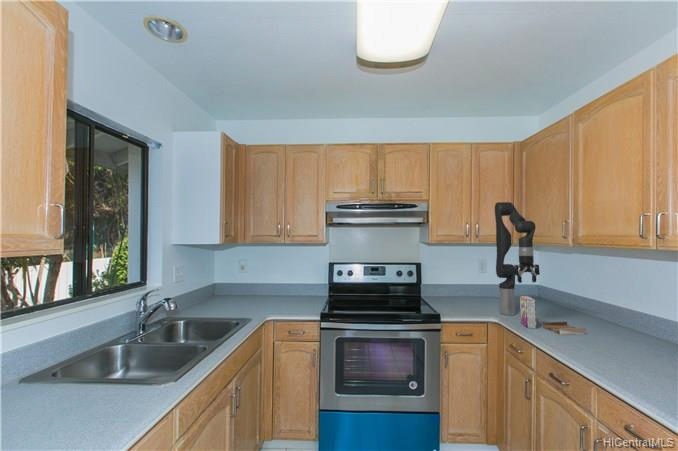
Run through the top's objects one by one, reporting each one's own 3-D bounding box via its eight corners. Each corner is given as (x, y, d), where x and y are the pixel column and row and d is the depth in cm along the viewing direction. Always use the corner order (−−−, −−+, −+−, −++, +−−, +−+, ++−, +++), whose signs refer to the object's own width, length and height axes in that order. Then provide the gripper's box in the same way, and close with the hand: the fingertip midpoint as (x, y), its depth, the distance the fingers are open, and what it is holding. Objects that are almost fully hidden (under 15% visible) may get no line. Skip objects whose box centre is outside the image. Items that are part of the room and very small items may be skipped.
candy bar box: (520, 323, 195) (519, 295, 195) (529, 323, 194) (528, 296, 194) (527, 328, 184) (526, 299, 184) (536, 328, 183) (535, 299, 183)
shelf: (543, 327, 185) (542, 322, 185) (566, 326, 186) (566, 321, 186) (560, 335, 171) (560, 328, 171) (585, 334, 172) (585, 328, 172)
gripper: (533, 254, 194) (534, 281, 193) (510, 254, 193) (511, 281, 193) (541, 254, 187) (543, 283, 186) (518, 255, 186) (519, 283, 185)
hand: (526, 282), depth 189 cm, fingers open, 8 cm apart
